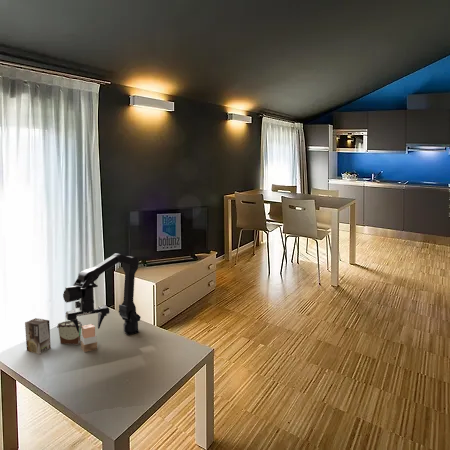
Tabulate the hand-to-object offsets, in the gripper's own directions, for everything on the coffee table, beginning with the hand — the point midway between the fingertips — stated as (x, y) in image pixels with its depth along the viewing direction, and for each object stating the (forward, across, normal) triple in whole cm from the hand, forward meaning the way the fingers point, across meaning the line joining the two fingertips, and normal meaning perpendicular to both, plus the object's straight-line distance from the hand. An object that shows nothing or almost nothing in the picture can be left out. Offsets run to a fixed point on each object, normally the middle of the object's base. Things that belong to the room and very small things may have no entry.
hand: (88, 330), depth 176 cm
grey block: (+6, 0, 0) cm, 6 cm away
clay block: (+3, 0, 0) cm, 3 cm away
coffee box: (+12, +20, -13) cm, 27 cm away
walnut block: (+9, 0, 0) cm, 9 cm away
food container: (+9, +5, -13) cm, 17 cm away
